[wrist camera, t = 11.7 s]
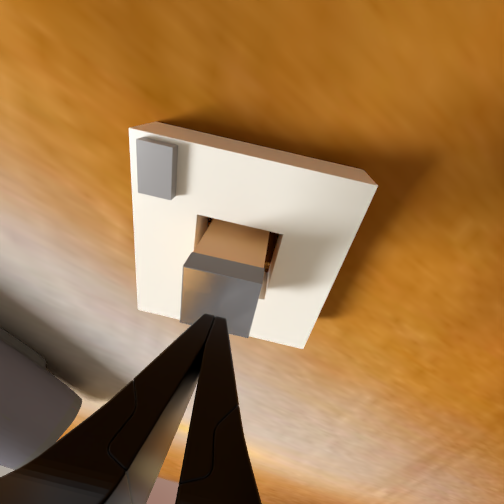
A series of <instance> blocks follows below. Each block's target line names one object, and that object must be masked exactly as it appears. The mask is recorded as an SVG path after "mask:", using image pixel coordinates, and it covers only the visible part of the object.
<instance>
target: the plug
mask: <svg viewBox="0 0 504 504" xmlns="http://www.w3.org/2000/svg"><path fill="white" fill-rule="evenodd" d="M269 233H270V231H266V230H262V229H257V228H253V227H249V226H245V225H240V224H236V223H232V222H227V221H223V220H219V219H215V218H214V219H213V220H212V222H211V224H210V225H209V227H208V229H207V230H206V232H205V233H204V235H203V237H202V238H201V240H200V242H199V243H198V245H197V246H196V248H195V250H194V251H193V252H191V254H190V255H189V257H188V259H187V260H186V262H185V263H184V265H183V272H182V291H181V310H180V322H181V323H185V324H189V325H192V324H193V323H194V322H195V321H196V320H198V319H199V318H200V317H201V316H202V315H203V314H205V313H206V314H211V315H214V316H215V317H216V316H219V317H223V318H226V320H227V326H228V333H229V334H233V335H237V336H241V337H246V338H248V337H249V333H250V329H251V326H252V322H253V318H254V314H255V310H256V306H257V303H258V299H259V295H260V291H261V287H262V283H263V277H264V270H265V268H264V264H265V258H266V251H267V245H268V239H269Z"/></svg>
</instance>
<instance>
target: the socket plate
mask: <svg viewBox="0 0 504 504" xmlns="http://www.w3.org/2000/svg"><path fill="white" fill-rule="evenodd" d="M129 141H130V161H131V181H132V201H133V221H134V241H135V261H136V281H137V301H138V310H141V311H146V312H150V313H154V314H158V315H162V316H166V317H171V318H175V319H179V320H180V310H181V291H182V272H183V265H184V263H185V262H186V260H187V259H188V257H189V255H190V254H191V252H193V251H194V250H195V248H196V246H197V245H198V243H199V242H200V240H201V238H202V237H203V235H204V233H205V232H206V230H207V228H208V220H209V217H210V218H215V219H219V220H223V221H227V222H232V223H236V224H240V225H245V226H249V227H253V228H257V229H262V230H266V231H270V232H274V233H279V235H278V239H277V242H276V246H275V249H274V253H273V256H272V260H271V264H270V267H269V271H268V272H264V277H263V283H262V287H261V291H260V295H259V299H258V303H257V306H256V310H255V314H254V318H253V322H252V326H251V329H250V333H249V336H250V337H254V338H259V339H263V340H267V341H271V342H275V343H280V344H284V345H288V346H292V347H296V348H301V349H303V348H304V346H305V344H306V342H307V339H308V337H309V335H310V333H311V331H312V329H313V326H314V324H315V322H316V320H317V318H318V315H319V313H320V311H321V309H322V307H323V305H324V302H325V300H326V298H327V296H328V294H329V292H330V289H331V287H332V285H333V283H334V281H335V279H336V276H337V274H338V272H339V270H340V268H341V265H342V263H343V261H344V259H345V257H346V255H347V252H348V250H349V248H350V246H351V244H352V242H353V239H354V237H355V235H356V233H357V231H358V229H359V226H360V224H361V222H362V220H363V218H364V216H365V213H366V211H367V209H368V207H369V205H370V202H371V200H372V198H373V196H374V194H375V192H376V189H377V187H378V185H377V184H376V183H375V182H374V181H373V180H372V179H371V177H370V176H369V175H368V174H367V173H366V172H365V171H364V170H362V169H358V168H354V167H349V166H345V165H341V164H337V163H332V162H328V161H324V160H319V159H315V158H311V157H306V156H302V155H298V154H294V153H289V152H285V151H281V150H276V149H272V148H268V147H263V146H259V145H255V144H251V143H246V142H242V141H238V140H233V139H229V138H225V137H220V136H216V135H212V134H208V133H203V132H199V131H195V130H190V129H186V128H182V127H177V126H173V125H169V124H165V123H160V122H152V123H148V124H143V125H139V126H134V127H130V128H129Z"/></svg>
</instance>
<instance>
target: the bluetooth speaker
mask: <svg viewBox="0 0 504 504" xmlns="http://www.w3.org/2000/svg"><path fill="white" fill-rule="evenodd" d="M81 404H82V399H81V398H80V397H79V396H78V395H77V394H76V393H75V392H74V391H72V390H71V389H70V388H69V387H68V386H67V385H65V384H64V383H62V382H61V381H60V380H58V379H57V378H56V377H55V376H54V375H52V374H51V373H50V372H48V371H47V370H46V360H45V359H44V358H43V357H41V356H40V355H39V354H38V353H36V352H35V351H34V350H33V349H31V348H30V347H28V346H27V345H25V344H24V343H23V342H21V341H20V340H18V339H17V338H15V337H14V336H12V335H11V334H9V333H8V332H6V331H5V330H3V329H2V328H0V465H2V466H4V467H8V468H11V469H14V470H16V469H18V468H20V467H21V466H23V465H25V464H26V463H28V462H30V461H31V460H33V459H34V458H36V457H37V456H38V455H40V454H41V453H42V452H44V451H45V450H46V449H48V448H49V447H50V446H52V445H53V444H54V443H56V441H57V440H58V439H59V438H60V436H61V435H62V434H63V433H64V432H65V431H66V429H67V428H68V427H69V426H70V425H71V423H72V422H73V421H74V419H75V417H76V415H77V414H78V412H79V409H80V407H81Z"/></svg>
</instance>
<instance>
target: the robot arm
mask: <svg viewBox="0 0 504 504" xmlns="http://www.w3.org/2000/svg"><path fill="white" fill-rule="evenodd" d="M197 382H198V384H197ZM196 384H197V389H196V394H195V400H194V405H193V411H192V416H191V421H190V427H189V432H188V438H187V443H186V448H185V454H184V459H183V465H182V470H181V475H180V481H179V487H178V492H177V497H176V502H175V504H262V503H261V500H260V496H259V492H258V489H257V485H256V481H255V477H254V474H253V470H252V466H251V462H250V459H249V455H248V451H247V446H246V442H245V438H244V433H243V427H242V421H241V415H240V408H239V402H238V395H237V388H236V381H235V374H234V368H233V361H232V354H231V347H230V340H229V333H228V326H227V320H226V318H223V317H219V316H216V317H215V316H214V315H211V314H206V313H205V314H203V315H202V316H201V317H200V318H199V319H198V320H196V321H195V322H194V323H193V324H192V325H191V326H190V327H189V328H188V329H187V330H186V331H185V332H184V333H182V334H181V335H180V336H179V337H178V338H177V339H176V340H175V341H174V342H173V343H172V344H171V345H170V346H168V347H167V348H166V349H165V350H164V351H163V352H162V353H161V354H160V355H159V356H158V357H157V358H155V359H154V360H153V361H152V362H151V363H150V364H149V365H148V366H147V367H146V368H145V369H144V370H143V371H141V372H140V373H139V374H138V375H137V376H136V377H135V378H134V381H133V380H132V381H131V382H129V383H128V384H127V385H126V386H125V387H124V388H123V389H122V390H121V391H120V392H119V393H117V394H116V395H115V396H114V397H113V398H112V399H111V400H109V401H108V402H107V403H106V404H105V405H103V406H102V407H101V408H100V409H98V410H97V411H96V412H95V413H93V414H92V415H91V416H90V417H88V418H87V419H86V420H84V421H83V422H82V423H80V424H79V425H78V426H77V427H75V428H74V429H73V430H71V431H70V432H69V433H67V434H66V435H65V436H63V437H62V438H61V439H60V440H58V441H57V442H56V443H54V444H53V445H52V446H50V447H49V448H48V449H46V450H45V451H44V452H42V453H41V454H40V455H38V456H37V457H36V458H34V459H33V460H31V461H30V462H28V463H26V464H25V465H23V466H21V467H20V468H18V469H16V470H14V471H13V472H10V473H8V474H6V475H4V476H2V477H0V504H146V502H147V500H148V497H149V495H150V493H151V490H152V488H153V486H154V483H155V481H156V479H157V476H158V474H159V472H160V469H161V467H162V464H163V462H164V460H165V457H166V455H167V453H168V450H169V448H170V446H171V443H172V441H173V438H174V436H175V434H176V431H177V429H178V427H179V424H180V422H181V420H182V417H183V415H184V413H185V410H186V408H187V405H188V403H189V401H190V398H191V396H192V394H193V391H194V389H195V387H196Z"/></svg>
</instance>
